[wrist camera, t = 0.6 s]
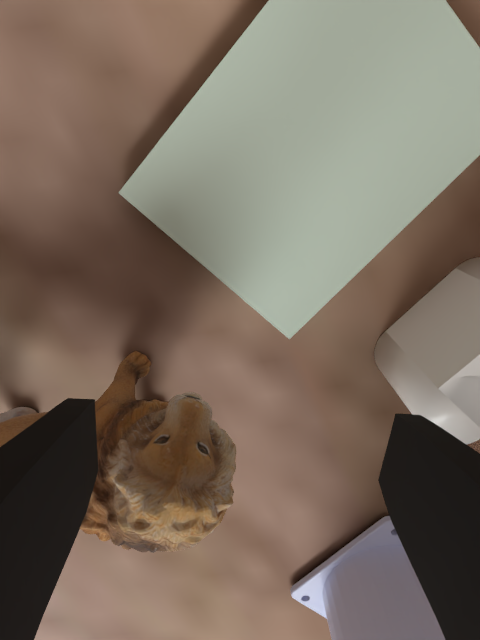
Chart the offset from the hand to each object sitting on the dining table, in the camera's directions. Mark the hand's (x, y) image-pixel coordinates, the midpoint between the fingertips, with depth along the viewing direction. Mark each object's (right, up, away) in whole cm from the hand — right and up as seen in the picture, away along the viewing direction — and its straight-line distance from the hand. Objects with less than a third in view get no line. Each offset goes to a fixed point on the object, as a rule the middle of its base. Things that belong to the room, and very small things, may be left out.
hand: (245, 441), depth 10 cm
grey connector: (+10, +4, +9) cm, 14 cm away
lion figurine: (-7, 0, +10) cm, 12 cm away
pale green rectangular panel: (+3, +9, +6) cm, 11 cm away
